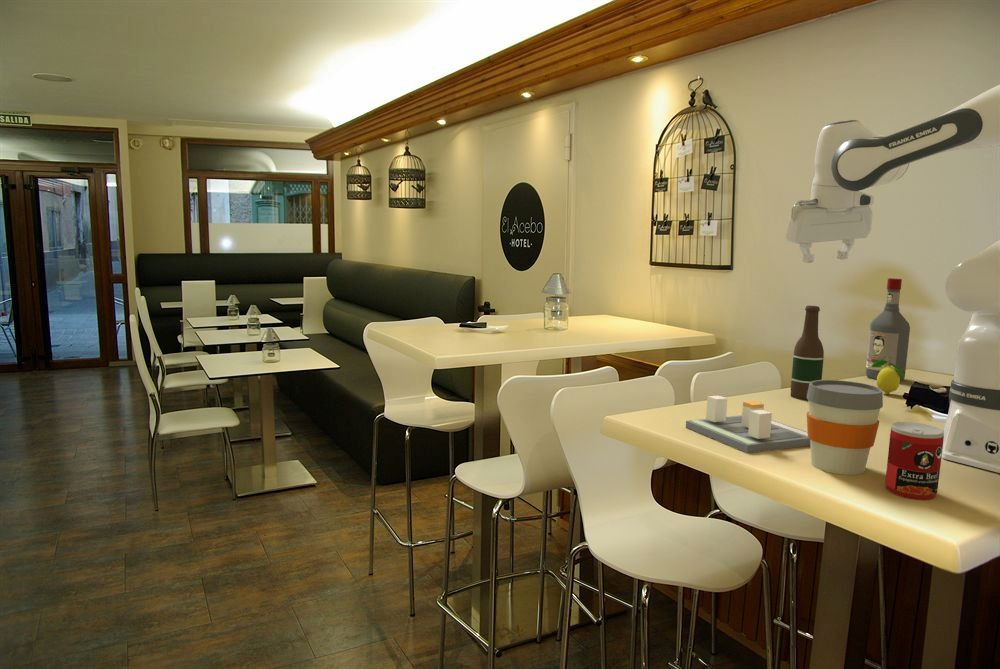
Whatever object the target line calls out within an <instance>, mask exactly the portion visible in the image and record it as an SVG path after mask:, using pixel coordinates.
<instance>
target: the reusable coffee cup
mask: <svg viewBox="0 0 1000 669" xmlns="http://www.w3.org/2000/svg"><path fill="white" fill-rule="evenodd" d="M883 393H884V391H883V390H882V389H880V388H878V386H875V385H873V384H867V383H862V382H856V381H848V380H838V379H837V380H836V379H822V380H816V381H812V382H810V383H809V388H808V393H807V397H806V398H807V399H808V400H807V401H808V402H807V403H808V411H807V412H806V427H807V428H806V429H807V431H806V432H808V438H809V439H810V444H811V445H810V459H811V460H810V463H811V465H812V466H813V467H814V468H816V469H819V470H821V471H824V472H828V473H832V474H836V475H849V476H853V475H854V476H855V475H861V474H863V473H865V470H866V466H867V462H868V458H869V456H870V451H871V448H873V447H874V445H875V441H876V438H877V432H878V430H879V426H880V420H879V414H880V410H881V409H882V408H883V406H884V405H883V404H884V403H883V402H884V400H883V395H884V394H883Z"/></svg>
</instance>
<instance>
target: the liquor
mask: <svg viewBox="0 0 1000 669" xmlns="http://www.w3.org/2000/svg"><path fill="white" fill-rule="evenodd" d="M902 281H903V280H902V279H901V278H890V277H889V278H887V283H886V298H885V306H884V307H883V311H882V312H880V313H879V314H878V315H877V316H876V317H875V318H873V319H872V320H871V322H870V324H869V333H868V343H867V353H866V365H865V372H864V373H865V376H866V378H868V379H871V378H873V379H872V380H876V379H877V376H878V374H879V372H880V371H881V370H882V369H883V368H886V367H888V366H889V363H890V358H891V364H892V365H894V366H898V367H899V368H900V369H901V370H902V372H903V374H904V377H905V378H906V370H907V361H908V353H909V352H908V351H909V341H910V332H911V325H910V323H909V322H908V321H907V319H906V318H905V317H904V315H903V314H902V313H901V311H900V308H899V307H900V295H901V290H902ZM878 360H885V361H889V362H887V364H886V365H884V366H881V367H877V368H873V367H871V366H872V365H873V364H874V363H875V362H876V361H878ZM891 364H890V366H891V367H892V368H894V367H893V366H892V365H891ZM894 369H895V368H894ZM896 371H897V372H898V374H899V377H900V380H903V381H904V380H905V378H904V377H903V376H902V375H901V374H900V372H899V371H898V370H896Z"/></svg>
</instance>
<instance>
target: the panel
mask: <svg viewBox="0 0 1000 669" xmlns="http://www.w3.org/2000/svg"><path fill="white" fill-rule="evenodd" d="M741 424H742V414H740V415H734V416H733V415H732V416H726V421H722V422H713V421H710V420H707V419H706V418H702V419H701V418H700V419H693V420H691V419H690V420H686V421H685V429H688V428H689V429H688V430H690V429H691V430H690V431H693V432H695V431H696V433H698V434H700V433H701V435H702V434H703V436H705V437H707V436H708V437H707V438H710V437H711V438H710V439H712V438H713V439H712V440H715V441H717V440H718V441H717V442H719V441H720V442H719V443H722V444H724V445H727V446H728V447H729V446H730V447H732V448H734V449H736V450H739V451H742V452H743V453H746V454H751V453H758V452H766V451H774V450H775V451H776V450H783V449H791V448H797V447H798V448H799V447H807V446H808V447H809V446H811V444H810V439H809V438H808V431H806V430H803V429H799V428H798V427H793V426H790V425H788V424H785V423H782V422H779V421H776V420H773V419H771V430H770V438H761V439H757V438H755V437H752V436H749V435H748V430H749V428H748V427H745V426H742V425H741Z"/></svg>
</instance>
